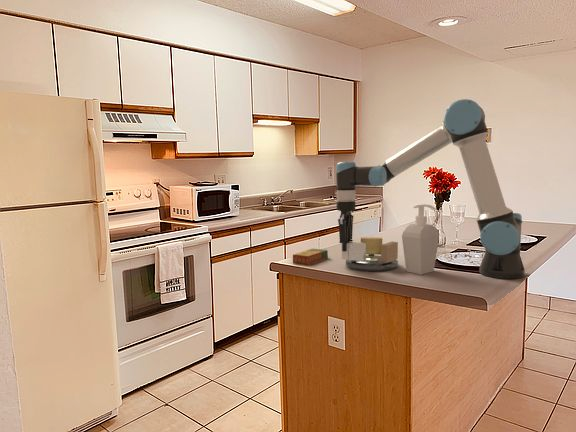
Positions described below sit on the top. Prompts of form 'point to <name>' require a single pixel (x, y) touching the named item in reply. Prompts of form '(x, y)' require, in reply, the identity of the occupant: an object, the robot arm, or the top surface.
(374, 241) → the olive yellow block
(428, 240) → the soap bottle
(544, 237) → the top surface
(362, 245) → the knob
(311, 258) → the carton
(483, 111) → the robot arm
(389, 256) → the tan rectangular block
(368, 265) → the dark grey plate
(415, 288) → the top surface
